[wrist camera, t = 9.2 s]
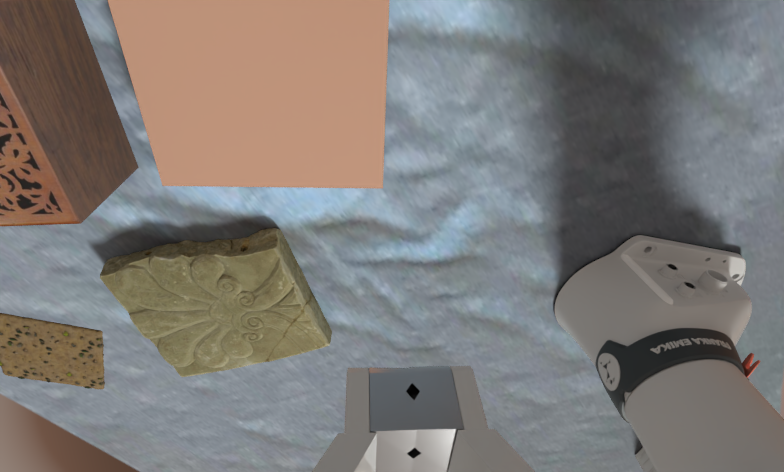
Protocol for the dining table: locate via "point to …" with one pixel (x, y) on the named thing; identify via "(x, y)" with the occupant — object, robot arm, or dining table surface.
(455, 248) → the dining table surface
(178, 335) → the decorative tile
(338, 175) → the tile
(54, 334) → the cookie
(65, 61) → the tissue box cover
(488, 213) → the dining table surface
